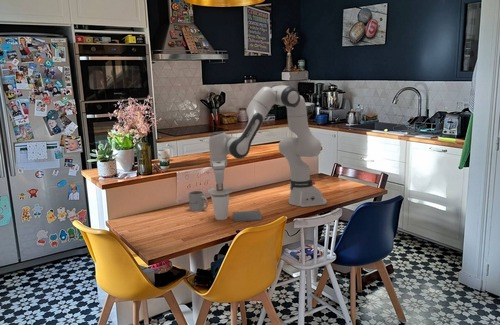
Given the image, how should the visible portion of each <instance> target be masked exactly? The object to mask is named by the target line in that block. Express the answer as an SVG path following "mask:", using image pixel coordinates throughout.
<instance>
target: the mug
mask: <svg viewBox="0 0 500 325" xmlns="http://www.w3.org/2000/svg"><path fill="white" fill-rule="evenodd" d="M188 202H189V203H188V204H189V205H188V206H189V211H190V212H193V213H194V212H195V213H196V212H197V213H198V212H202V211H204V210H205V209H208V206H209V200H208V198H207V197H206V196H205V194H204V191H202V190H193V191H190V192H188Z"/></svg>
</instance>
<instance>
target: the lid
mask: <svg viewBox="0 0 500 325" xmlns="http://www.w3.org/2000/svg"><path fill="white" fill-rule="evenodd" d="M232 192H233V189H232V188H231V187H229V186H224V182H223V183H222V189H221V190H219V189H218V184H217V183H216V184H215V187H210V188H209V189H208V190H207V194H209V195H225V194H229V195H230V194H231V193H232Z"/></svg>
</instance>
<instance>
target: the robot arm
mask: <svg viewBox="0 0 500 325" xmlns="http://www.w3.org/2000/svg"><path fill="white" fill-rule="evenodd" d="M274 105H277V106H280V107H286V115H287V125H288V127H287V128H288V129H289V131H290V132H292V133H293V134H295V135H296V137H292V136H290V137H289V136H288V137H283V138H281V140H280V141H279V143H278V151H279V152H280V154H281V155H283V156H284V158H285V159H286V161H287V163H288V166H289V170H290V180H289V189H290V192H289V198H288V204H290V205H292V206H296V207H302V208H306V207H315V206H323V205H327V203H328V201H327V199H326V198H324V197H323V193H322V191H321V190H320V189H319V188H317V187H316V186H314V185H315V184H316V181H315V180H312V179H311V178H310V170H311V169H310V166H309V164H307V162H305V161H303V160H302V157H303V158H305V157H306V158H313V157H318V156H319V155H320V153H321V151H322V143H321V142H320V140H319V139H318V138H316V137H315V135H314V134H313V133H312V131H311V130H310V127H309V121H308V110H307V105H306V100H305V98H304V97H303V95H300V92H299V91H298V90H297V88H295V87H293V86H289V85H284V84H282V85H279V84H275V85H272V86H263V87H261V88H260V89H259V90H258V92H257V93H256V94H255V95H254V96H253V98H252V99H251V101H250V102H249V103H248V105H247V108H246V111H245V112H246V116H247V118H248V121H247V124H246V127H245V128H244V130H243V131H242V133H241V134H240V136H239V137H237V136H236V137H235V136H232V135H230V134H227V133H225V132H224V131H216V132H213V133H211V134H210V136H209V142H208V144H209V146H208V147H209V149H208V150H209V153H210V154H209V162H210V163H209V164H210V167H211V168H212V170H213V172H214V179H215V183H216V184H218V189H219V190H221V189H222V183H223V184H224V179H225V169H226V167H227V166H228V158H227V156H228V155H230V156H232V157H234V159H235V158H236V159H239V160H240V159H243V158H246V157H247V155H249V153H250V150H251V145H252V143H253V140H254V139H255V137H256V135H257V134H258V132H259V130H260V128H261V126H262V124H263V122H264V120H265V118H267V116H268V113H269V112H270V110H271V109H272V107H273V106H274Z"/></svg>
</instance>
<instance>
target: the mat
mask: <svg viewBox="0 0 500 325" xmlns="http://www.w3.org/2000/svg"><path fill="white" fill-rule="evenodd" d="M232 217H233V222H234V223H235V222H236V223H237V222H238V223H239V222H251V221H263V216H262V215H261V211H260V210H245V211H243V210H242V211H232Z"/></svg>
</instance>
